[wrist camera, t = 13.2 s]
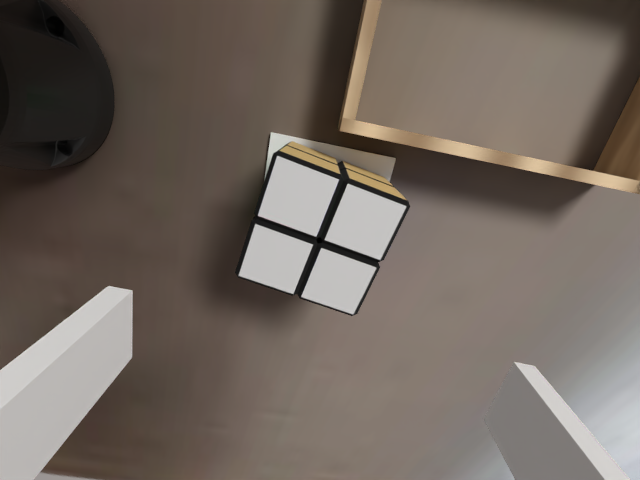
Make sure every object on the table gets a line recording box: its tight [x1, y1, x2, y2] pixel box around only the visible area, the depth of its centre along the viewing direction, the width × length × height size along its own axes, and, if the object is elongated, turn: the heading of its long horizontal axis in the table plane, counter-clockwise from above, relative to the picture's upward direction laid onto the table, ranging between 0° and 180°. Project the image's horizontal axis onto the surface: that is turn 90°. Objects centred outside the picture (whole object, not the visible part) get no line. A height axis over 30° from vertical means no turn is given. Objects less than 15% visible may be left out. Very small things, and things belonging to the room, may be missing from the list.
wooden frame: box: [338, 0, 640, 194], centre depth 26 cm, size 26×17×5 cm, turn 79°
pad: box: [264, 132, 396, 182], centre depth 33 cm, size 12×12×1 cm
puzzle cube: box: [235, 141, 410, 316], centre depth 28 cm, size 10×10×10 cm
